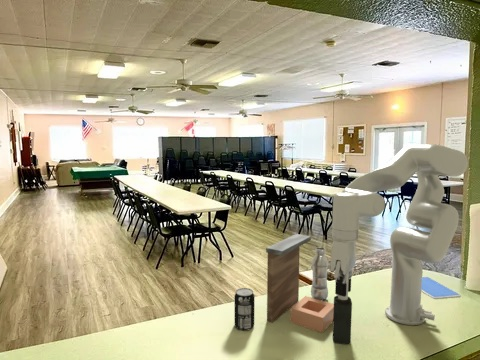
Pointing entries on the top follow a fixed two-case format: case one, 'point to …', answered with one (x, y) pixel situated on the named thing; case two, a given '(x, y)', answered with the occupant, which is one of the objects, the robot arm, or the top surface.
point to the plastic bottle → (319, 275)
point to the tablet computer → (436, 289)
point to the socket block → (312, 313)
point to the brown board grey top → (283, 275)
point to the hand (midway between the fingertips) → (343, 292)
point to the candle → (342, 317)
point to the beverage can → (244, 309)
